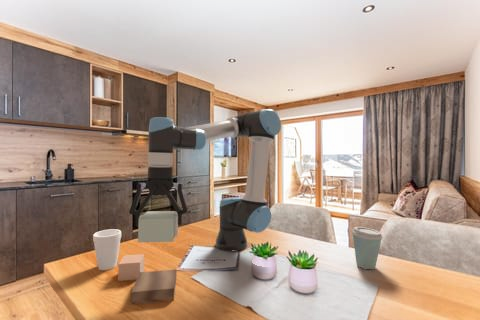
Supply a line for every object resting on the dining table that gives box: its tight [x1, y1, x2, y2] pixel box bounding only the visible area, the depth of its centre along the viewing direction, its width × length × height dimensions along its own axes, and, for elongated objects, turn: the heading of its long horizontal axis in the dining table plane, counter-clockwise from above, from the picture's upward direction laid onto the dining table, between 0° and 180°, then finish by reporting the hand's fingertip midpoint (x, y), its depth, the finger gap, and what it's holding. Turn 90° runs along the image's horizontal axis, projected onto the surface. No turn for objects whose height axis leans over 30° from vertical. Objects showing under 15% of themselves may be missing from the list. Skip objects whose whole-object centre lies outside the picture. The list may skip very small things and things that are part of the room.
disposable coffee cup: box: [352, 226, 383, 270], centre depth 94 cm, size 11×11×15 cm
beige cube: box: [117, 253, 145, 282], centre depth 86 cm, size 7×7×6 cm
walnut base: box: [130, 269, 177, 305], centre depth 76 cm, size 12×12×4 cm
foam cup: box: [92, 228, 122, 271], centre depth 92 cm, size 10×9×13 cm
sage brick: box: [137, 210, 177, 243], centre depth 76 cm, size 10×10×7 cm
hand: (158, 235), depth 76 cm, fingers closed on sage brick, 10 cm apart
